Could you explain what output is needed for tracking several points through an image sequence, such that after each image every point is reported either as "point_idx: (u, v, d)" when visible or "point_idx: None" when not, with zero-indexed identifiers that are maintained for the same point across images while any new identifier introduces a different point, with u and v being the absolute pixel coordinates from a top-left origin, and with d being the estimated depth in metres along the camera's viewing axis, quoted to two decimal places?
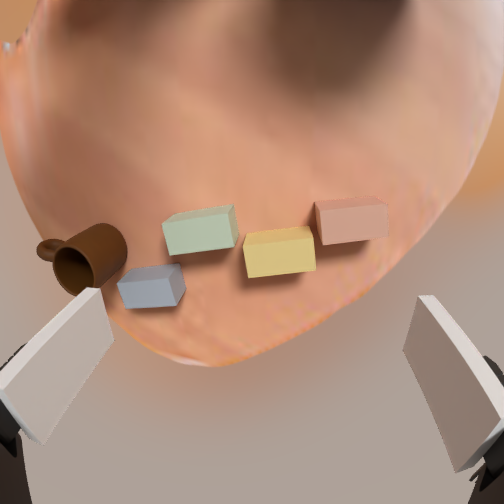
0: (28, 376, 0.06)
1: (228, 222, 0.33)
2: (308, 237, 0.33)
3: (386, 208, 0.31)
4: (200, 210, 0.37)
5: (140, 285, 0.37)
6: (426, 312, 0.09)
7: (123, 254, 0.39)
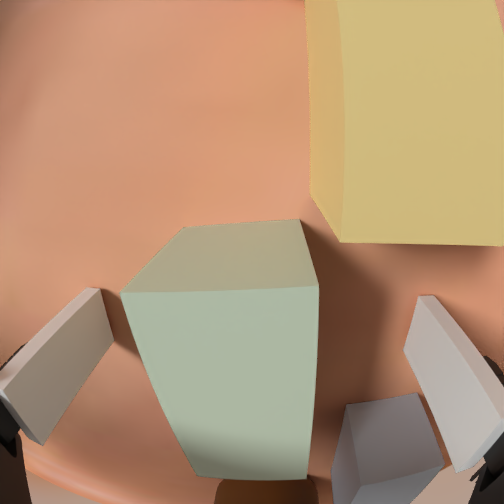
0: (28, 376, 0.06)
1: (166, 296, 0.06)
2: None
3: None
4: None
5: None
6: (426, 312, 0.09)
7: (284, 490, 0.14)
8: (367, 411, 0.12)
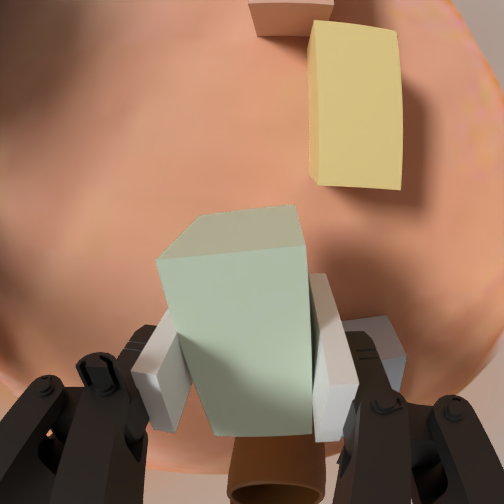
0: (172, 358, 0.08)
1: (193, 260, 0.08)
2: (314, 31, 0.10)
3: None
4: None
5: None
6: (310, 287, 0.12)
7: None
8: (349, 325, 0.20)
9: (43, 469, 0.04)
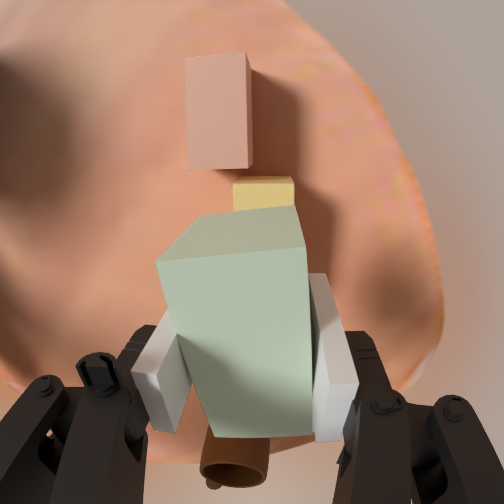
0: (171, 358, 0.08)
1: (192, 261, 0.08)
2: None
3: (193, 58, 0.16)
4: None
5: None
6: (310, 286, 0.12)
7: None
8: None
9: (43, 469, 0.04)
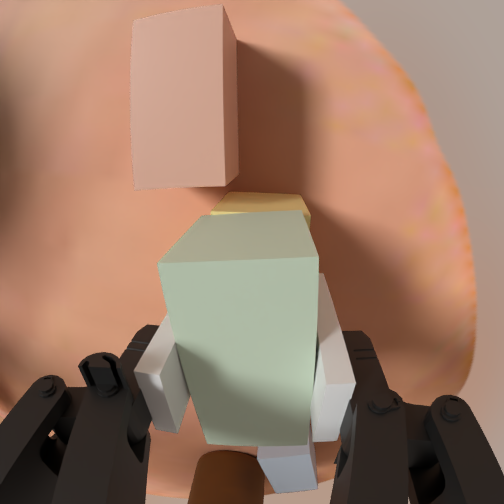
0: (174, 358, 0.08)
1: (197, 265, 0.07)
2: None
3: (143, 20, 0.09)
4: None
5: (275, 479, 0.20)
6: None
7: (238, 463, 0.24)
8: None
9: (45, 469, 0.04)
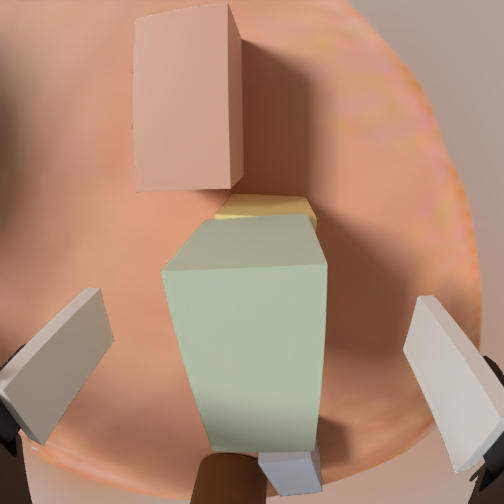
0: (28, 376, 0.06)
1: (202, 273, 0.07)
2: None
3: (146, 19, 0.09)
4: None
5: (278, 483, 0.19)
6: (426, 312, 0.09)
7: (240, 466, 0.24)
8: None
9: None
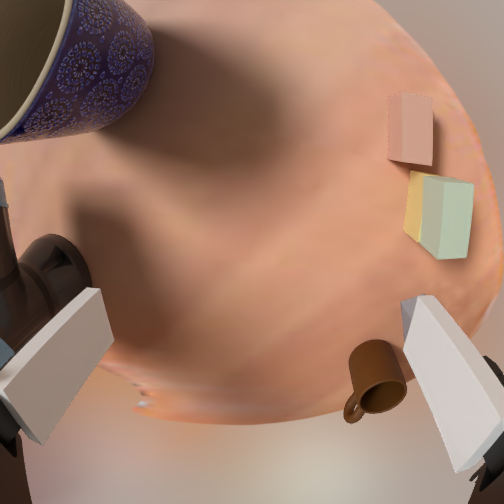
0: (28, 376, 0.06)
1: (452, 183, 0.23)
2: None
3: (405, 93, 0.25)
4: (425, 213, 0.29)
5: None
6: (426, 312, 0.09)
7: (384, 345, 0.40)
8: (408, 302, 0.38)
9: None
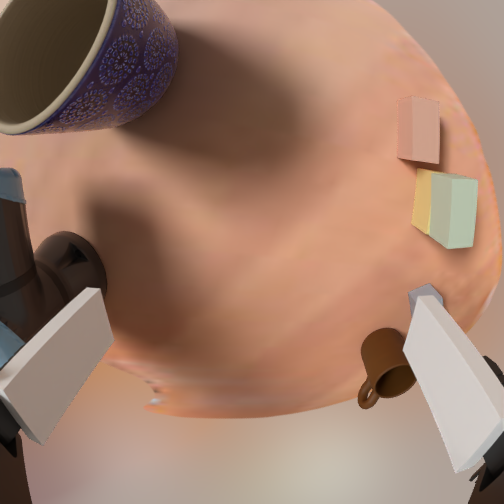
0: (28, 376, 0.06)
1: (459, 179, 0.25)
2: None
3: (415, 97, 0.27)
4: (434, 208, 0.31)
5: None
6: (426, 312, 0.09)
7: (394, 332, 0.42)
8: (414, 291, 0.40)
9: None
